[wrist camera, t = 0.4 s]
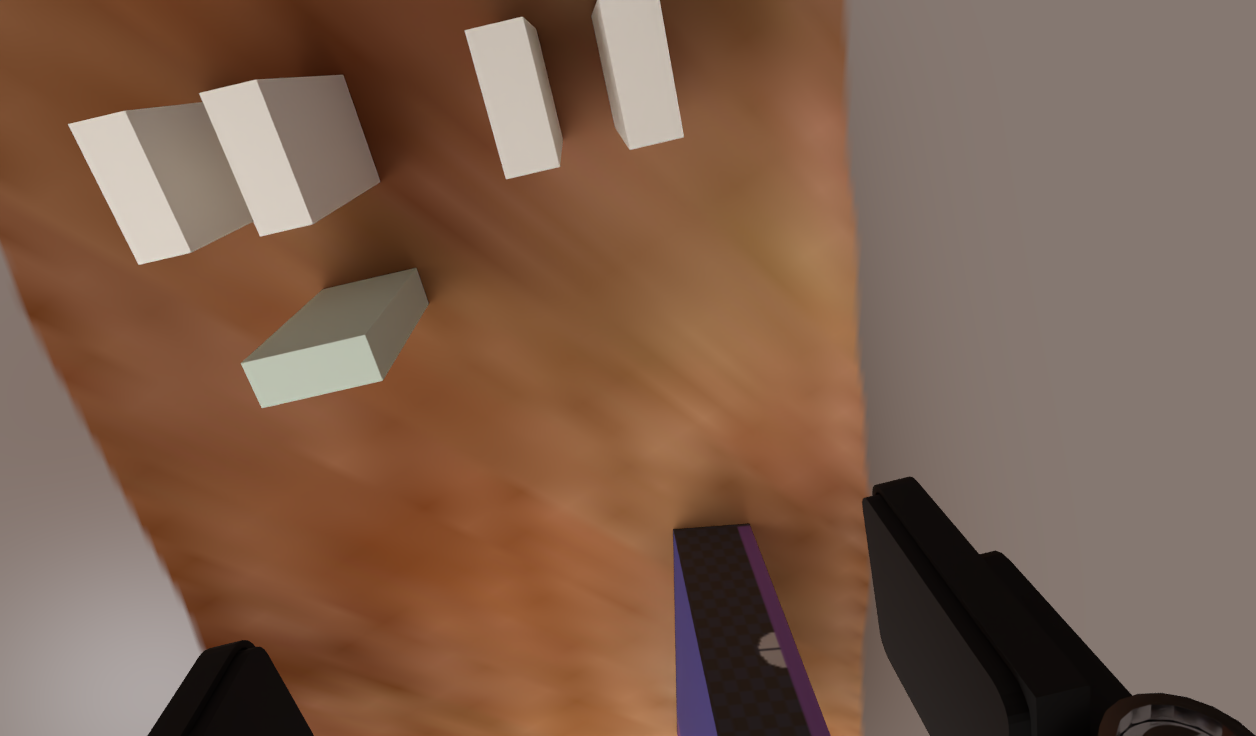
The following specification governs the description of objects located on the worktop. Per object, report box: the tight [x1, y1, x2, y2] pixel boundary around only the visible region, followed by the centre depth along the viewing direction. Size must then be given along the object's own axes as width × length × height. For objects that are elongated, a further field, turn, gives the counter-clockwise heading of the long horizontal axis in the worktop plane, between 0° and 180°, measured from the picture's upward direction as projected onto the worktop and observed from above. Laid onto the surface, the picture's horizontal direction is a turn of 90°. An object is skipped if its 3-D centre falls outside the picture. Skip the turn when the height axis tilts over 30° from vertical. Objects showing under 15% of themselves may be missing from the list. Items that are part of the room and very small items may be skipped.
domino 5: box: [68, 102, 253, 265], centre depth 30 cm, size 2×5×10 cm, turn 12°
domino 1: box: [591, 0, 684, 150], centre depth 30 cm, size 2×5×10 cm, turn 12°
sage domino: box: [241, 268, 429, 408], centre depth 33 cm, size 2×5×10 cm, turn 102°
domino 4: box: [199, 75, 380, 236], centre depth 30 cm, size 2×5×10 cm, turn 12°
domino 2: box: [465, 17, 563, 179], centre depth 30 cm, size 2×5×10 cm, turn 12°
